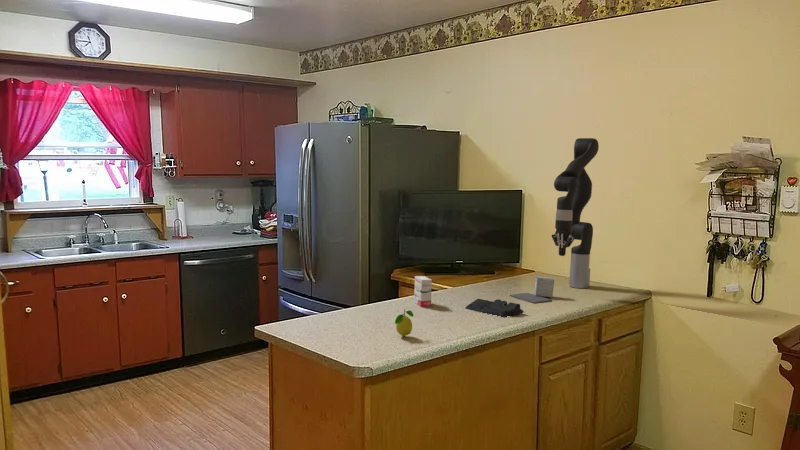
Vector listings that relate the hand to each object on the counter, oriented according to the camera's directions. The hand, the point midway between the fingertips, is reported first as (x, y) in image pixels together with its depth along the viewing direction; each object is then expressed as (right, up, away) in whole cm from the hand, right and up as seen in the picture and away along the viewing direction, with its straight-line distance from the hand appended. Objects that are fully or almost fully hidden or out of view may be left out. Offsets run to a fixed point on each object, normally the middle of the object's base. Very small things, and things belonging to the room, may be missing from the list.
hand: (561, 255), depth 273 cm
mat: (-17, -19, -7) cm, 27 cm away
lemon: (-75, -25, -71) cm, 107 cm away
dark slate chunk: (-37, -22, -31) cm, 53 cm away
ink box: (-67, -20, -24) cm, 74 cm away
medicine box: (-10, -19, -3) cm, 22 cm away
